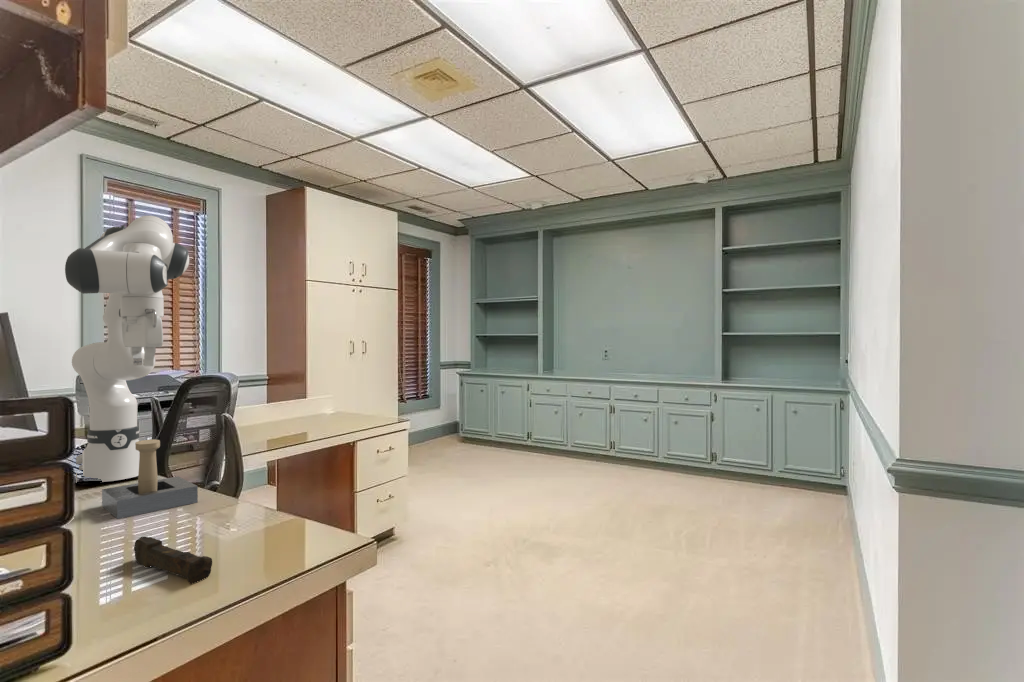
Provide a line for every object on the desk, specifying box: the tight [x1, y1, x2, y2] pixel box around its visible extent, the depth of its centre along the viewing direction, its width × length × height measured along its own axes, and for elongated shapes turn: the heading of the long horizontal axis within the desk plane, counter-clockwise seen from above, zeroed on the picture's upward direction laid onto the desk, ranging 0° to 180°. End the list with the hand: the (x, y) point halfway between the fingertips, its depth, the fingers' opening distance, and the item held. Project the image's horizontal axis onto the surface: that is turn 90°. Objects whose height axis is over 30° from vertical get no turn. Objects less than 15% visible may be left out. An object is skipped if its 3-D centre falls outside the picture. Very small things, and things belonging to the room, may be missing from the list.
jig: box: [101, 476, 199, 520], centre depth 128 cm, size 14×16×4 cm
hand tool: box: [133, 536, 213, 585], centre depth 91 cm, size 19×4×5 cm, turn 60°
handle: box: [135, 438, 161, 494], centre depth 128 cm, size 5×6×15 cm
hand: (142, 365), depth 132 cm, fingers open, 8 cm apart
